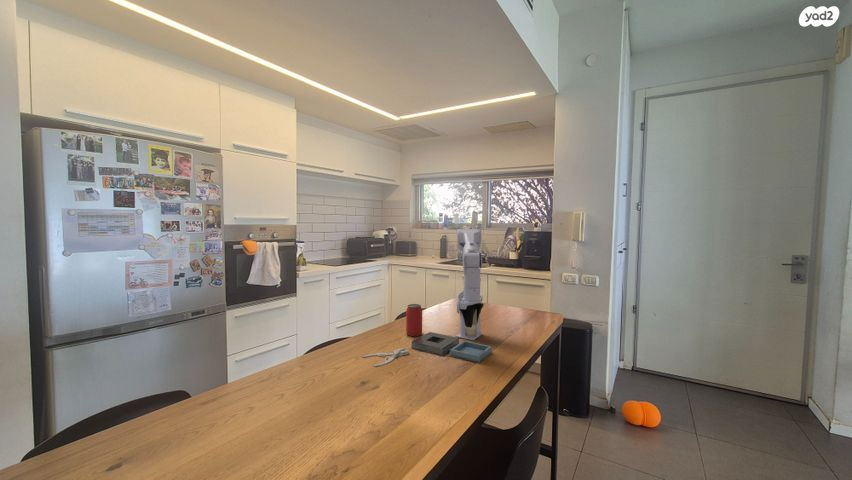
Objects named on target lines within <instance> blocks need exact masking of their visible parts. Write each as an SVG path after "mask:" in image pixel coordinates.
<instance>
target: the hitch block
mask: <svg viewBox="0 0 852 480" xmlns="http://www.w3.org/2000/svg"><path fill="white" fill-rule="evenodd" d="M458 344H460V338H459V337H456V336H452V335H447V334H443V333H437V332H432V331H429V332H427V333H425V334H423V335H420V336H418V338H417V337H416V339H414V340H411V349H414V350H418V351H422V352H426V353H430V354H435V355H438V356H443V355H445V354H447V353H448V352H450V349H452V348H453V347H455V346H457V345H458Z"/></svg>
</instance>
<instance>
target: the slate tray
mask: <svg viewBox="0 0 852 480" xmlns="http://www.w3.org/2000/svg"><path fill="white" fill-rule="evenodd" d="M492 350H493V347H492V346H491V345H487V344H483V343H482V344H481V343H477V342H473V341H472V342H471V341H468V340H463V341H461V342H459V344H458V345H457V346H455V347H453V348H452V349H450V351H449V356H450V357H453V358H457V359H461V360H465V361H469V362H473V363H479V364H480V363H481V362H483V361H484V360H485V359H486V358H488V356H489V355H491V354H492Z"/></svg>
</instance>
